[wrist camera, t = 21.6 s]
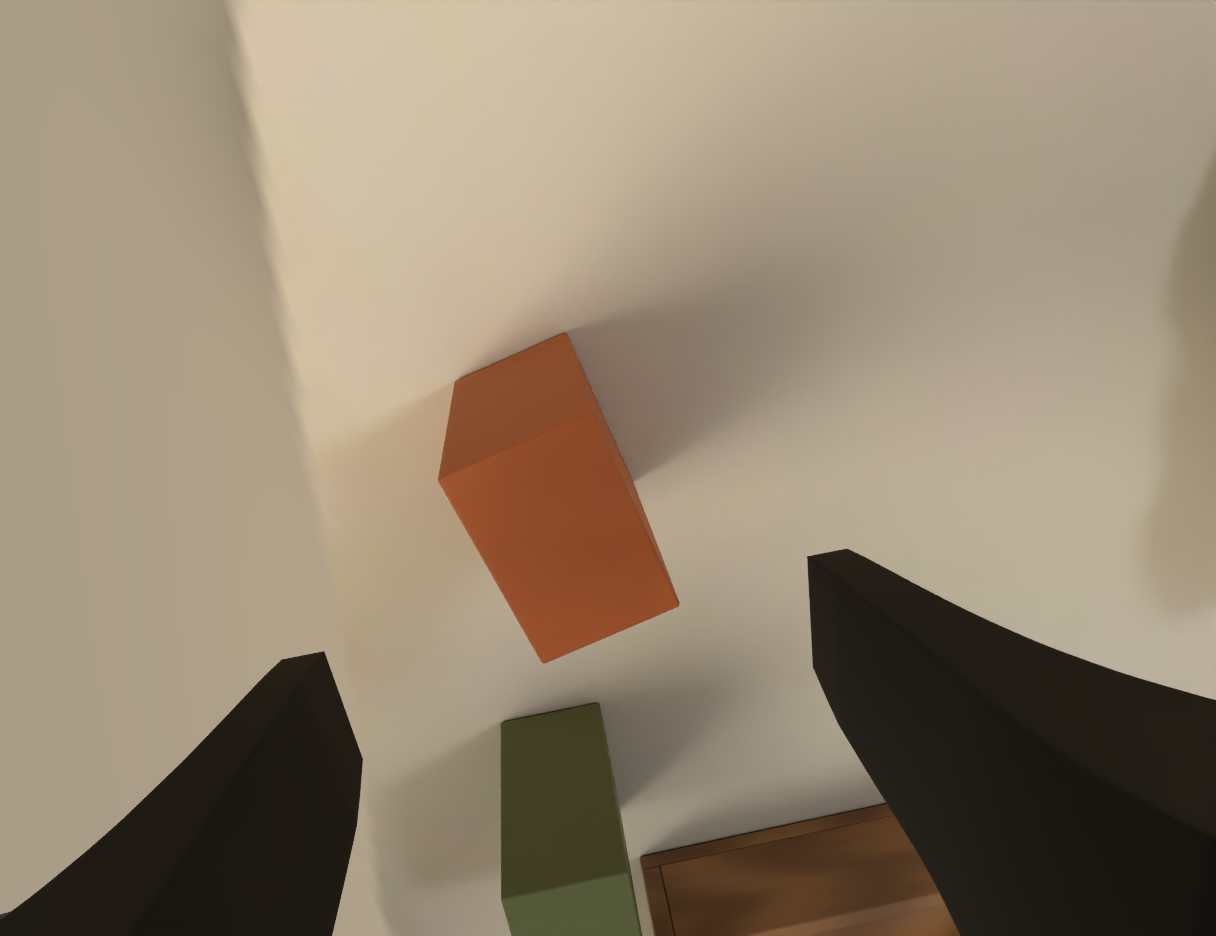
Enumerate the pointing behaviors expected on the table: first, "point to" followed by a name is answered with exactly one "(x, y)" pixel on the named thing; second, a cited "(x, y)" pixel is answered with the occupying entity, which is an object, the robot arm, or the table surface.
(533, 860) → the block
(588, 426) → the orange rectangular block
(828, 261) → the table surface
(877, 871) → the wooden tray
